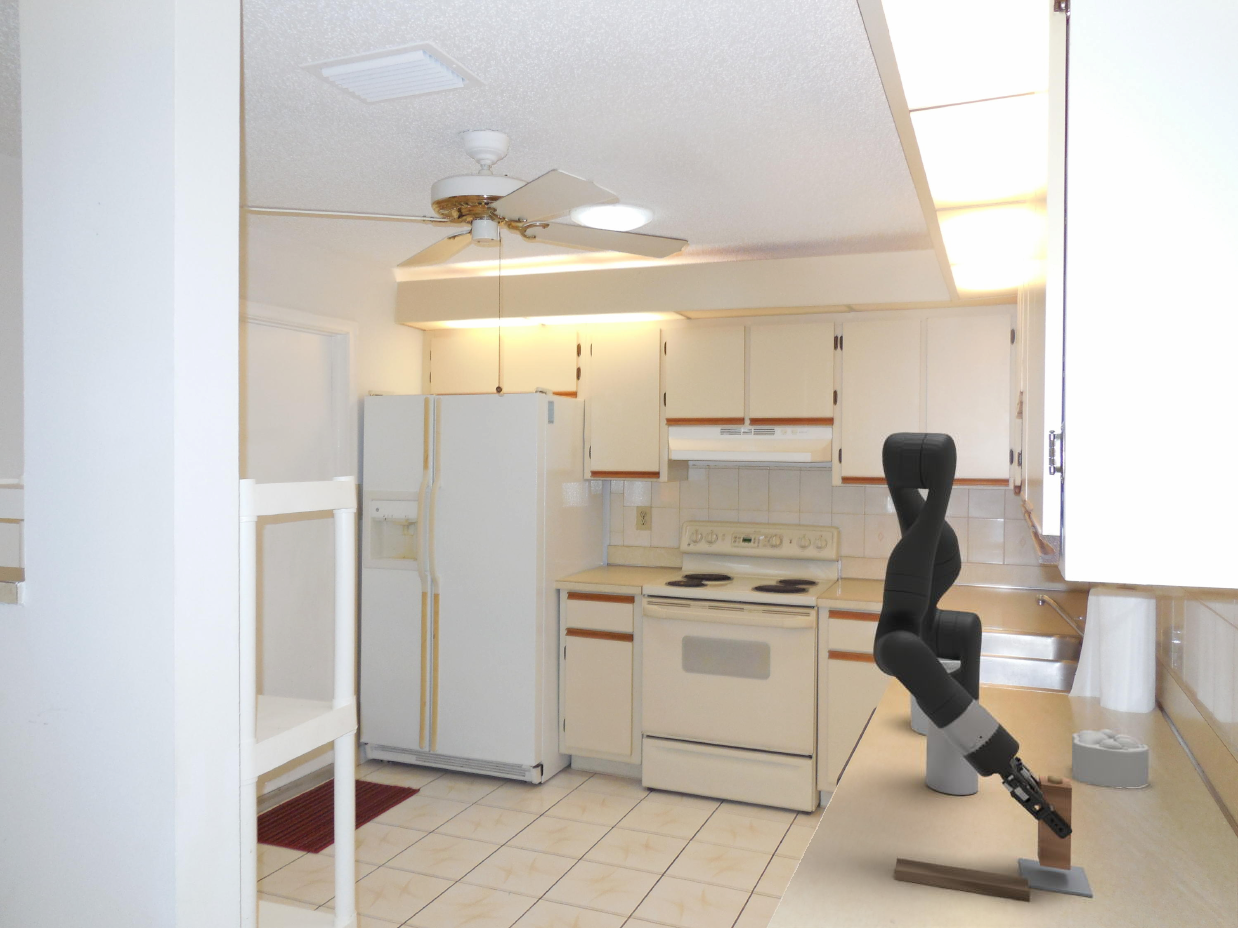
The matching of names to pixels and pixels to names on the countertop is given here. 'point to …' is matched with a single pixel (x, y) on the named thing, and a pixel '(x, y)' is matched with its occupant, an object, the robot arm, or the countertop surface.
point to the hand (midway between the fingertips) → (1065, 827)
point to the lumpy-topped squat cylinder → (1109, 759)
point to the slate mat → (1055, 878)
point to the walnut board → (962, 879)
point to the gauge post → (1049, 844)
